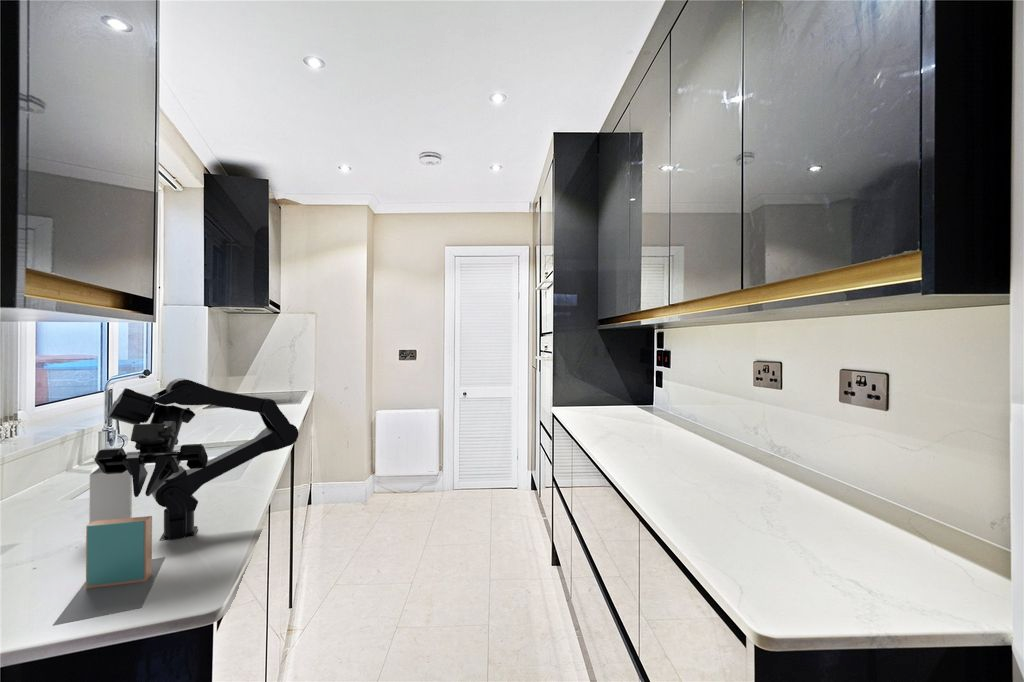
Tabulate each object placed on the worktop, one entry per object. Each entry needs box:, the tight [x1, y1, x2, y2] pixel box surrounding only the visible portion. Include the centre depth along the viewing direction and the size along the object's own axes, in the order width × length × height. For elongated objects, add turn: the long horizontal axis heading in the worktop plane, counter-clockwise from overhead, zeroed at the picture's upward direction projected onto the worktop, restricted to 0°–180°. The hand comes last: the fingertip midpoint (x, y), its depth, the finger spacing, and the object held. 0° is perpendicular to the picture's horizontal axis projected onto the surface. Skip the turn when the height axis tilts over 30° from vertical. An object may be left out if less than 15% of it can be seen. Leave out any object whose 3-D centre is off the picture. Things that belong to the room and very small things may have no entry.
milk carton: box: [88, 464, 133, 525], centre depth 111 cm, size 7×7×19 cm
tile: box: [85, 515, 153, 588], centre depth 88 cm, size 3×9×11 cm, turn 107°
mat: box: [52, 556, 166, 626], centre depth 86 cm, size 21×11×1 cm, turn 27°
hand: (141, 495), depth 96 cm, fingers closed
